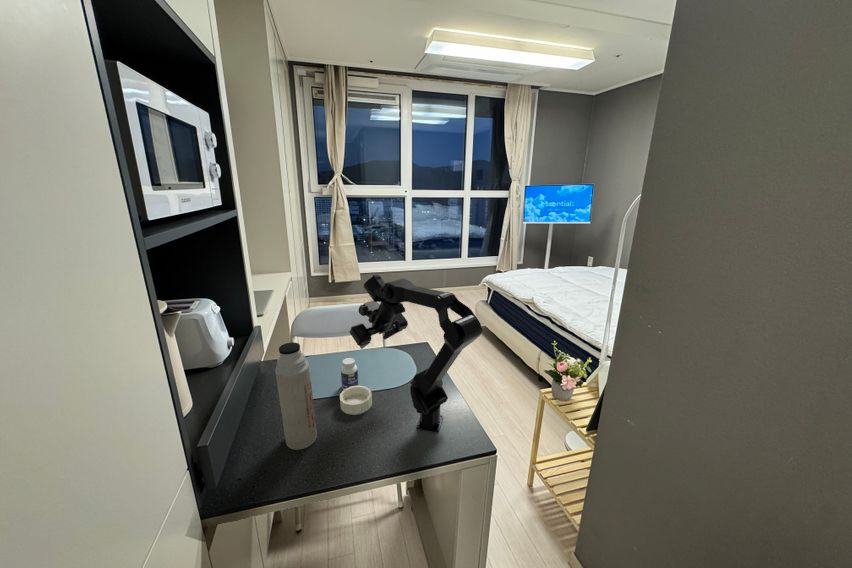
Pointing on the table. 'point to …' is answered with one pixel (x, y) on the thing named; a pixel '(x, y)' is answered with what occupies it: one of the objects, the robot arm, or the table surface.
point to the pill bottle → (349, 373)
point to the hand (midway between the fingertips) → (372, 343)
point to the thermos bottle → (295, 397)
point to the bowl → (355, 400)
